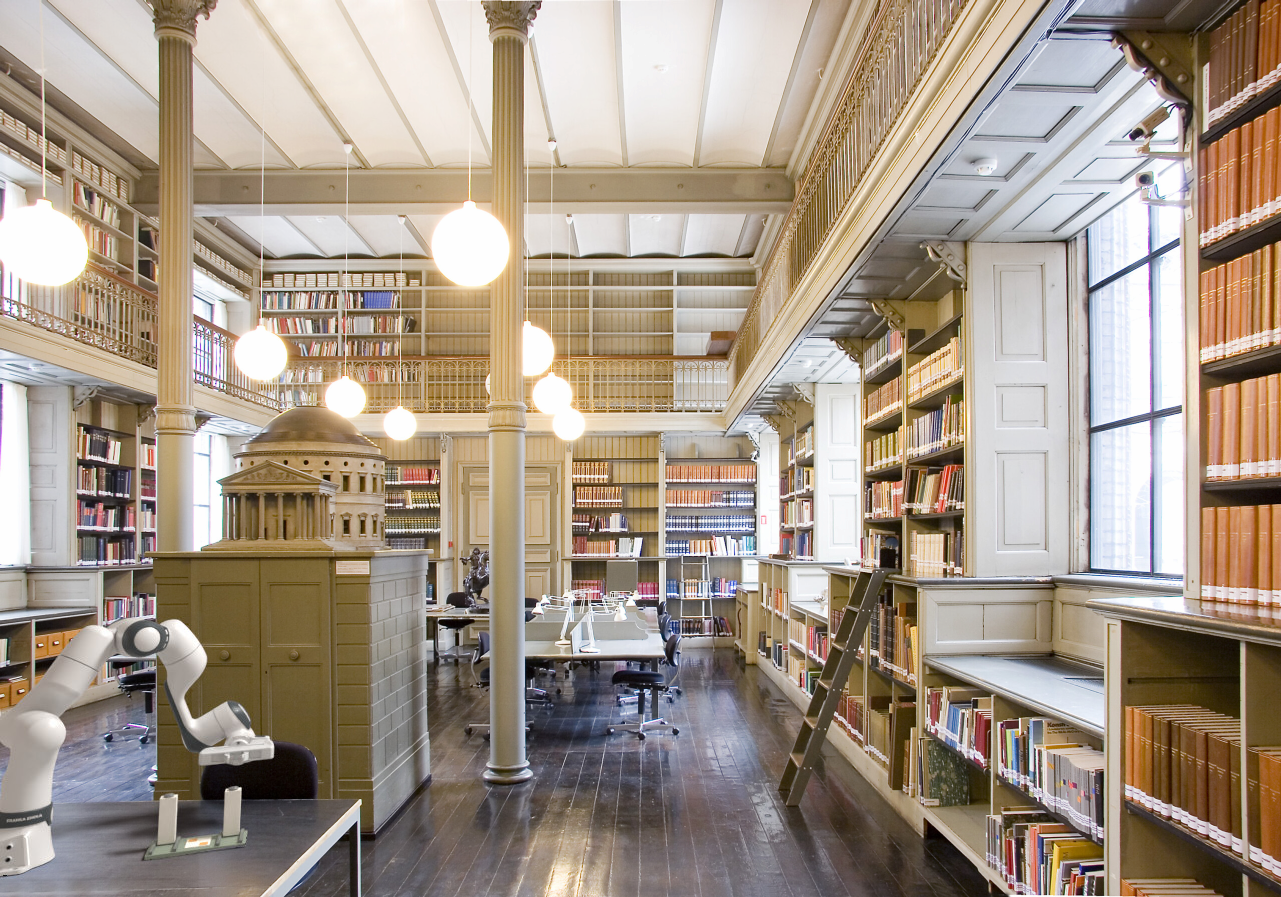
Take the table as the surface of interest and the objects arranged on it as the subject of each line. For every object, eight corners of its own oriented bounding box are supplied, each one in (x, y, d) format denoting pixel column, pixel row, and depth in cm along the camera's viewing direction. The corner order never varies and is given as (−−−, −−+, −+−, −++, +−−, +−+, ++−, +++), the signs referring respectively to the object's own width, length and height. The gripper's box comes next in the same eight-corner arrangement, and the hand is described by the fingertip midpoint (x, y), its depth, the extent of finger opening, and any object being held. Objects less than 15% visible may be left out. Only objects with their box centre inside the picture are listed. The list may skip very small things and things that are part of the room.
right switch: (223, 833, 236) (225, 786, 237) (239, 831, 237) (241, 785, 239) (223, 836, 233) (225, 789, 234) (238, 834, 234) (240, 788, 236)
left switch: (159, 841, 230) (161, 793, 231) (175, 839, 231) (178, 792, 232) (157, 845, 227) (160, 796, 228) (174, 842, 228) (176, 795, 230)
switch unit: (151, 846, 230) (151, 839, 230) (247, 833, 239) (247, 827, 239) (144, 860, 220) (144, 853, 220) (245, 847, 229) (245, 840, 229)
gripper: (200, 741, 252) (195, 752, 239) (274, 735, 259) (273, 745, 247) (200, 763, 251) (194, 775, 238) (274, 756, 259) (273, 767, 246)
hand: (235, 760), depth 243 cm, fingers closed
